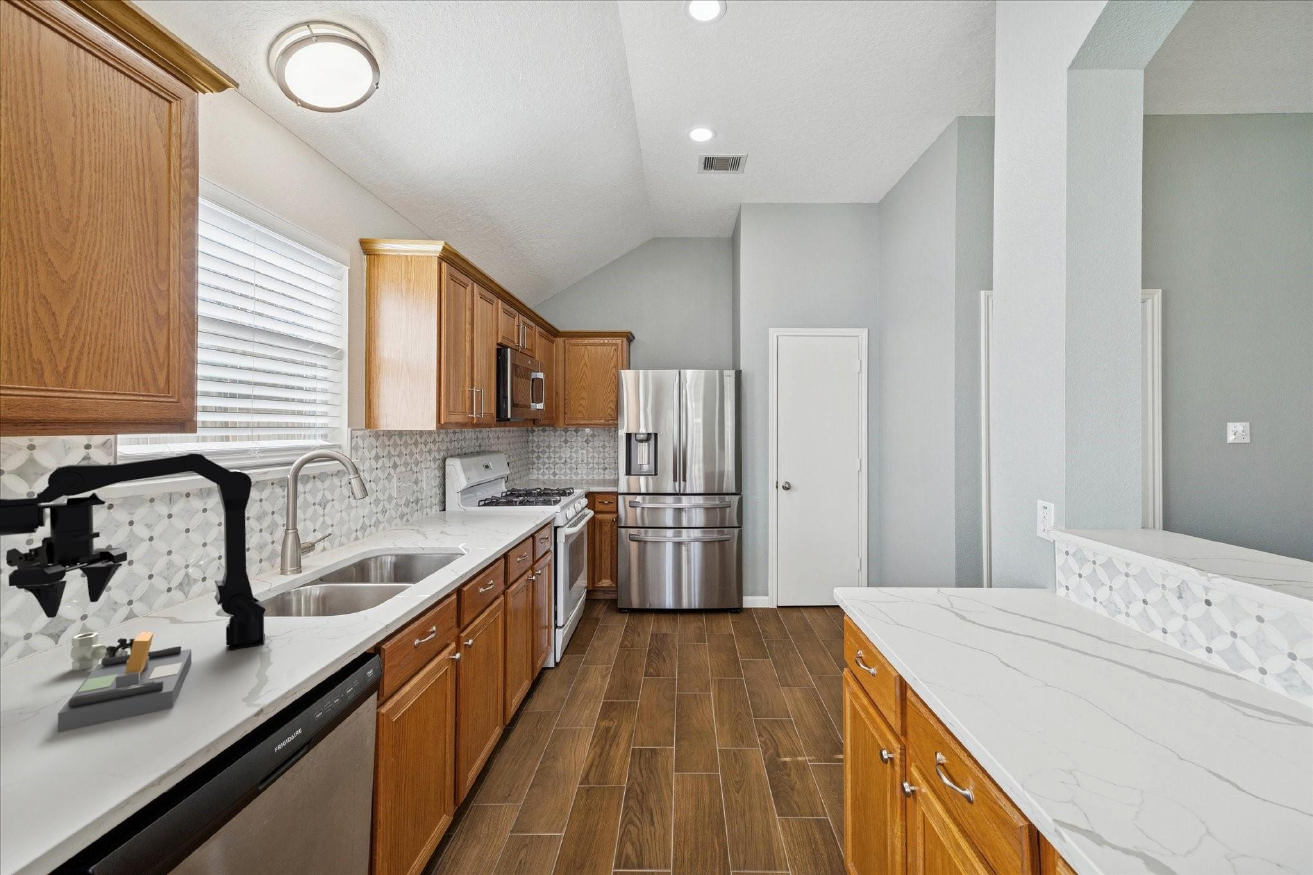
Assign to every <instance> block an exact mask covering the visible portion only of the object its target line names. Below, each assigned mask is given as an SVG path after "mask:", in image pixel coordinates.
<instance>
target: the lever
mask: <svg viewBox="0 0 1313 875" xmlns="http://www.w3.org/2000/svg"><path fill="white" fill-rule="evenodd" d="M154 634H155V633H154V632H150V631H148V632H143V631H141V632H139V633H138V635H137V636H136V637H135V638H134V639H135V640H134V642H133V646H132V649H131V650H130V654H129V655H130V657H129V661H128V664H127V668H126V672H125V673H130V672H136V671H140V674H141V672H142V670H143V669H144V667H145V664H146V660H147V657H148V653H149V651H150V648H151V645H152V641H153V638H154Z"/></svg>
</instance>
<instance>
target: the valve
mask: <svg viewBox="0 0 1313 875" xmlns="http://www.w3.org/2000/svg"><path fill="white" fill-rule="evenodd" d="M135 639H136V638H130V639H129V640H127V638H124V637H123V638H122V637H121V638H119V639H117V641H116V642H117V643H118V644H117V645H108V646H107V645H105V644H99V643H98V642H99V633H98V632H93V631H91V632H86V633H80V634H77V635H75V636H73V637H72V638H71V647H72V648H71V650H70V658H71V660H72V662H71V670H72V671H83V669H84V670H87V669H88V670H89V669H92V668H94V667H96V666H97V664H98V663H99V661H101V662H102V660H104V659H106V658H112V657H118V656H124V655H129V654H128V650H126V649H130V651H131V649H132V646H133V642H134V640H135ZM128 641H129V642H128ZM98 665H99V664H98Z"/></svg>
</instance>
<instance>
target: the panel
mask: <svg viewBox="0 0 1313 875" xmlns="http://www.w3.org/2000/svg"><path fill="white" fill-rule="evenodd" d="M129 657H130V654H128V655H124V656H118V657H112V658H106V659H104V660H102V659H101V661H102V662H101V664H98V665H96V666H95V668H94V669H92V671H91V673H90V674H89V675H88V676H87V677H86V678H85V680H84V681H83V682H82V683H81V685H80V686H79V687H78V689H77V690H76V691H75V692H74V693H73V694H72V696H71V697H70V698H69V699H68V701H66V703H65V704H64V705H63V707H62V708H61V709H60V710H59V711H58V712H57V723H58V724H57V732H59V733H60V732H63V731H69V730H75V729H77V728H78V729H79V728H82V727H88V726H92V725H96V724H102V723H106V722H111V721H115V720H120V719H125V718H129V717H134V716H135V717H136V716H140V715H144V714H148V713H149V714H150V713H153V712H157V711H158V712H159V711H163V710H167V709H168V710H169V709H173V707H174V705H175V703H176V701H177V698H178V696H179V693H180V691H181V689H182V686H183V684H184V682H185V679H186V676H187V675H188V672H189V670H190V668H191V665H192V649H191V648H190V649H183V650H182V646H181V645H179V646H172V647H167V648H162V649H161V648H160V649H154V650H149V653H148V657H147V660H146V664H145V667H144V669H143V670H142V672H141V674H140V671H136V672H130V673H125V672H126V668H127V664H128V661H129Z"/></svg>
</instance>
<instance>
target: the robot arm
mask: <svg viewBox="0 0 1313 875" xmlns="http://www.w3.org/2000/svg"><path fill="white" fill-rule="evenodd" d="M187 472H188V473H189V472H192V473H195V474H196V475H199V476H201V477H202V478H205V479H206V480H209V481H211V482H212V483H214V484H216V488H217V491H218V496H219V499H220V503H221V507H222V509H223V535H224V536H223V538H224V540H223V543H224V545H223V546H224V573H223V576H222V579H221V580H214V585H215V589H216V594H215V595H214V599H215V601H216V603H217V606H218V605H219V606H220V607H221V609H222V611H223V612H224V613H226V614H227V615H230V617H229V621H228V623H227V624H226V627H225V645H226V646H228V647H227V650H229V651H232V650H236V649H243V648H248V647H252V646H253V647H254V646H260V645H264V644H265V640H266V639H265V638H266V633H265V612H266V608H265V607H264V605H263V603H262V602H261V601H260V600H259V599H257V598H256V597H254V595H253V590H252V586H251V582H250V579H249V576H248V571H247V540H246V538H247V536H246V534H247V533H246V531H247V530H246V509H247V506H248V502H249V500H250V496H251V490H252V485H253V483H252V479H251V477H250V476H249V475H248V474H247V473H245V472H243V471H240V470H238V469H227V468H225V467H223V466H222V465H219V464H217V463H216V462H214V461H212V460H210V459H208V458H207V457H205V455H204V454H202V453H198V452H189V453H186V454H180V455H173V456H167V457H160V458H152V459H145V460H138V461H137V460H136V461H130V462H123V463H117V464H113V463H112V464H111V463H109V464H108V463H107V464H103V463H102V464H101V463H100V464H98V463H97V464H94V463H93V464H92V463H91V464H88V463H86V464H67V465H63V466H60V467H59V468H56V469H55V470H54V471H52V473H51V474H49V477H48V478H47V485H48V486H46V487H45V488H44V489H43V491H40V492H38V493H36V497H22V498H0V537H3V536H14V535H15V536H16V535H24V534H36V533H37V531H38V529H40V528H42V527H45V526H46V520H47V519H46V517H47V516H46V513H47V512H46V510H47V509H49V525H50V526H49V528H50V532H49V533H50V534H49V536H44V537H43V539H42V540H41V545H39V546H37V547H33V548H30V549H28V548H27V547H26V546H19V547H15V548H14V547H13V548H12V549H9V550H7V551H6V556H5V560H6V565H8V567H12V568H14V567H17V568H16V569H14V570H13V571H12V572H10V573H9V574H8V587H15V588H17V589H19V590H22V589H23V590H26V591H28V592H29V593H30V594H32V595H33V596H34V597H35V599H36V600H37V602H38V603H39V606H40V607H41V609H42V610H43V612H44V614H45V616H46V618H48V619H50V618H51V619H53V618H56V616H58V615H57V614H58V612H59V609H60V607H61V603H62V598H63V594H64V592H65V588H66V585H67V583H68V582H67V580H63V579H64V578H65V576H66V575H67V572H72V571H76V570H78V569H79V570H80V571H81V572H82V573H83V574H84V575H85V576H86V582H87V584H86V585H87V591H88V597H89V601H90V602H91V603H97V602H98V601H99V600H100V598H101V597H102V595H103V593H104V592H105V590H106V588H107V587H108V586H109V583H110V581H111V580H112V579H113V577H114V576H115V574H116V572H117V571H118V570H119V568H120V567H122V566H123V562H126V561H128V551H127V550H125V548H124V547H106V548H105V547H103V548H94V547H95V546H94V539H96V538H100V537H101V535H100V534H101V533H100V531H94V506H104V505H105V504H106V502H107V500H106V499H105V498H103V497H101V496H100V495H98V494H97V492H92V491H95V490H98V489H99V490H100V489H101V488H104V487H107V486H108V487H109V486H111V485H115V484H119V483H124V482H129V481H137V480H142V479H149V478H156V477H163V476H168V475H176V474H183V473H187ZM88 492H92V493H91V494H90V495H88V496H82V497H71V496H78V495H81V494H85V493H88ZM64 496H65V497H67V499H66V502H61V503H52V502H54V501H55V500H58V499H60V498H61V497H64Z"/></svg>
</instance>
